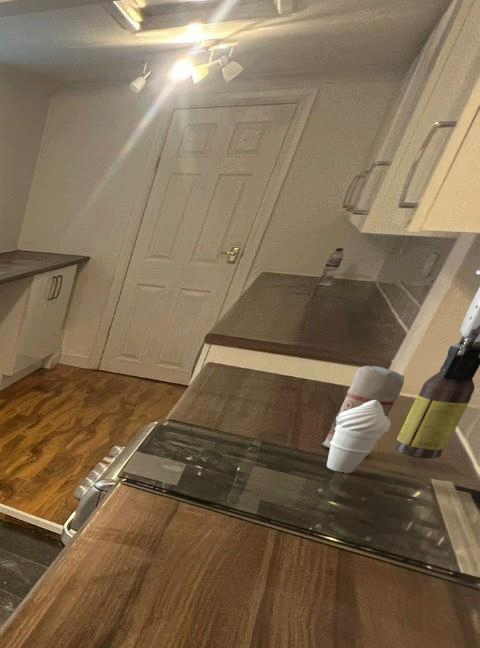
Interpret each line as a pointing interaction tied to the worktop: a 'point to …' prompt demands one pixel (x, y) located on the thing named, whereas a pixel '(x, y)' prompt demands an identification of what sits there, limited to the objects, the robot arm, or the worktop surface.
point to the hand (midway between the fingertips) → (456, 376)
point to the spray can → (370, 391)
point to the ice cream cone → (356, 435)
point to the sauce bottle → (435, 414)
